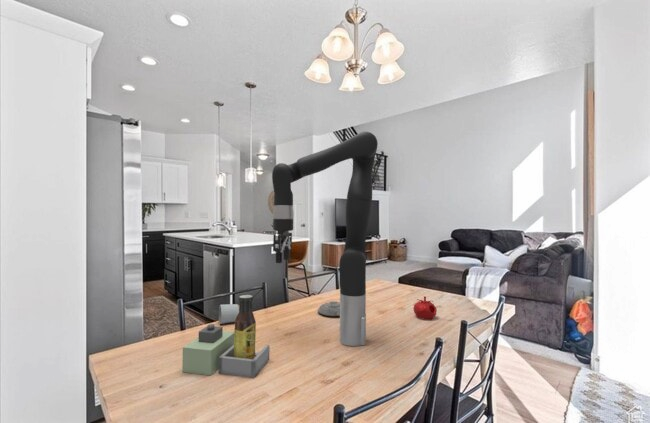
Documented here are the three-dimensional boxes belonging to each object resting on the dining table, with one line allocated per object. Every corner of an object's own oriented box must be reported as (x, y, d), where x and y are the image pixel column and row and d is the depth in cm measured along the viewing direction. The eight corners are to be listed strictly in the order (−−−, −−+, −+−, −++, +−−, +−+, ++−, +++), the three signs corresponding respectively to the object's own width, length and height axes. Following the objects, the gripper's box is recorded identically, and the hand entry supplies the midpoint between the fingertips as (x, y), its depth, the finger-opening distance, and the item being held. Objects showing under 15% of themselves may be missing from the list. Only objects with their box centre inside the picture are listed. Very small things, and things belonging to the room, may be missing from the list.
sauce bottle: (249, 369, 87) (250, 300, 87) (229, 367, 88) (230, 298, 89) (258, 358, 94) (259, 294, 94) (240, 356, 95) (240, 293, 95)
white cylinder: (241, 323, 126) (241, 304, 127) (220, 326, 123) (220, 307, 123) (236, 316, 136) (236, 299, 136) (217, 319, 132) (217, 301, 132)
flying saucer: (350, 309, 148) (350, 297, 148) (349, 319, 133) (349, 307, 133) (320, 307, 150) (320, 296, 150) (315, 318, 135) (315, 305, 135)
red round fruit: (412, 319, 133) (412, 298, 133) (414, 312, 143) (414, 293, 143) (436, 322, 130) (435, 300, 130) (437, 315, 139) (436, 294, 139)
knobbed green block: (271, 357, 97) (271, 321, 97) (252, 380, 83) (252, 339, 83) (210, 350, 101) (210, 316, 101) (182, 371, 87) (183, 332, 87)
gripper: (286, 218, 105) (286, 264, 105) (298, 217, 119) (298, 259, 119) (266, 217, 107) (266, 263, 107) (280, 217, 121) (279, 258, 121)
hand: (282, 261), depth 113 cm, fingers open, 8 cm apart
